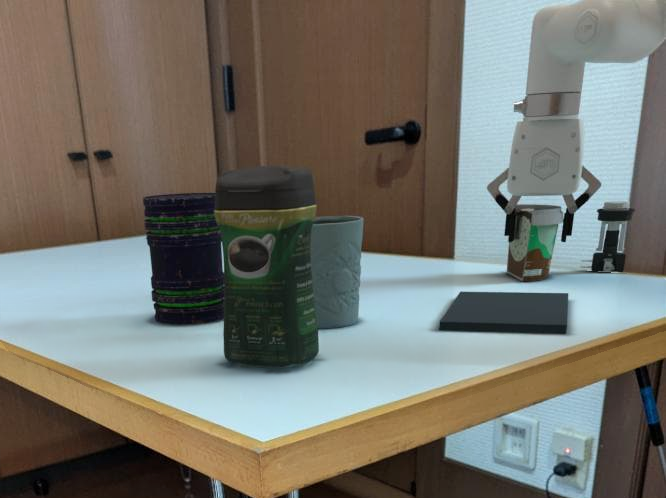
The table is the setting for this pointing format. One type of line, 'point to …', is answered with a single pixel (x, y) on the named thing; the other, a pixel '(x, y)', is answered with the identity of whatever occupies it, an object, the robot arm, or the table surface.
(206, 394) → the table surface
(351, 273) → the grey embossed cup
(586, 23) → the robot arm
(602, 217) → the black and grey device
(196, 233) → the storage jar
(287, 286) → the coffee jar
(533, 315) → the mat
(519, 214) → the food container
